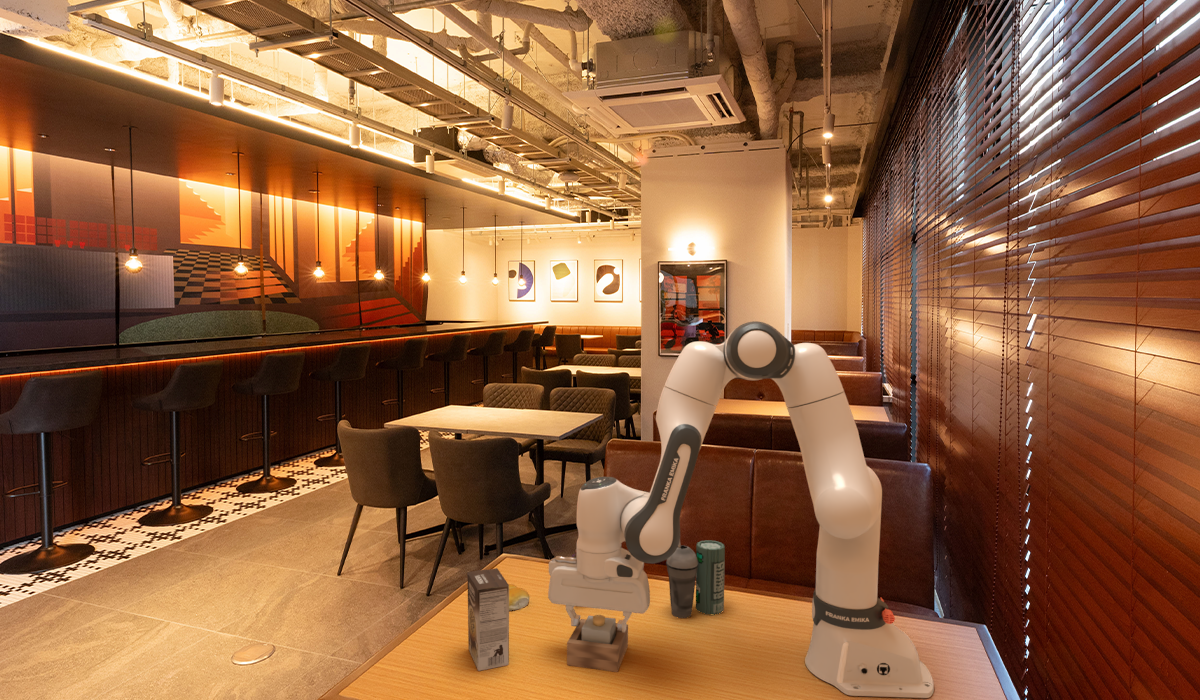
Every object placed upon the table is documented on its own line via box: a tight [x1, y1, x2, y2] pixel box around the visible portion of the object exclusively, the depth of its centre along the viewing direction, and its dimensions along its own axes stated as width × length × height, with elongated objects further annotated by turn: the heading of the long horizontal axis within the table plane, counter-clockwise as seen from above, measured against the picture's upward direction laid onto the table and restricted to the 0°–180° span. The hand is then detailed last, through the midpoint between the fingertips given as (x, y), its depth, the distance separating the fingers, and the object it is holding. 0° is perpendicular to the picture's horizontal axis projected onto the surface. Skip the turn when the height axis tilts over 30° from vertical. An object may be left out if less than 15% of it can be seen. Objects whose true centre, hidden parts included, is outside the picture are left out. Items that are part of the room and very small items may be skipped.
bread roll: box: [508, 583, 531, 612], centre depth 154 cm, size 8×9×4 cm
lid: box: [582, 614, 617, 645], centre depth 130 cm, size 6×6×6 cm
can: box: [695, 539, 726, 616], centre depth 151 cm, size 6×6×15 cm
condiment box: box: [566, 618, 629, 673], centre depth 131 cm, size 10×10×4 cm
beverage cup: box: [665, 540, 698, 619], centre depth 148 cm, size 7×7×20 cm
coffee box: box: [466, 567, 510, 672], centre depth 129 cm, size 9×6×16 cm
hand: (598, 628), depth 130 cm, fingers open, 8 cm apart
